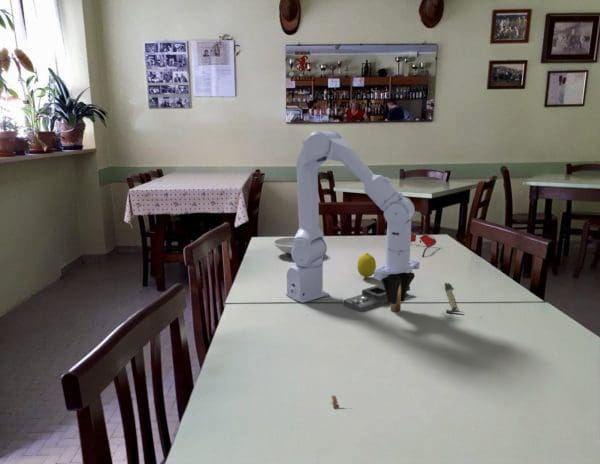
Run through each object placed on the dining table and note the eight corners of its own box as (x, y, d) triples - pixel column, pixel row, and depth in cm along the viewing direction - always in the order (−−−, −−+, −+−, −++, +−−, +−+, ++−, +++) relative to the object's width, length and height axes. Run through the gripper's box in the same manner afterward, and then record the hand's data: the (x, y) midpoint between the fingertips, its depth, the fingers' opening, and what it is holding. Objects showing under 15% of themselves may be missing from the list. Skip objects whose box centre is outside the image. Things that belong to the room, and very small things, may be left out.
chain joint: (359, 311, 112) (360, 300, 112) (343, 304, 117) (343, 293, 116) (409, 294, 123) (410, 284, 123) (392, 288, 128) (393, 278, 127)
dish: (267, 259, 157) (267, 245, 156) (277, 249, 171) (276, 236, 170) (318, 261, 154) (318, 247, 153) (323, 250, 168) (323, 237, 167)
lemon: (370, 282, 133) (370, 256, 131) (353, 279, 136) (354, 253, 135) (378, 277, 137) (379, 252, 136) (362, 274, 141) (363, 249, 139)
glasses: (436, 248, 172) (437, 235, 171) (423, 258, 158) (423, 244, 157) (401, 243, 179) (401, 231, 178) (385, 253, 166) (386, 239, 165)
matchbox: (362, 408, 74) (363, 405, 74) (333, 414, 73) (333, 411, 73) (351, 392, 79) (351, 390, 79) (323, 397, 77) (323, 395, 77)
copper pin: (396, 313, 111) (397, 282, 109) (388, 310, 113) (389, 279, 111) (402, 310, 113) (403, 280, 111) (395, 307, 114) (396, 277, 113)
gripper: (390, 257, 102) (388, 313, 105) (430, 247, 110) (427, 299, 113) (367, 250, 107) (366, 304, 110) (407, 241, 116) (405, 291, 119)
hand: (395, 301), depth 112 cm, fingers closed on copper pin, 2 cm apart
